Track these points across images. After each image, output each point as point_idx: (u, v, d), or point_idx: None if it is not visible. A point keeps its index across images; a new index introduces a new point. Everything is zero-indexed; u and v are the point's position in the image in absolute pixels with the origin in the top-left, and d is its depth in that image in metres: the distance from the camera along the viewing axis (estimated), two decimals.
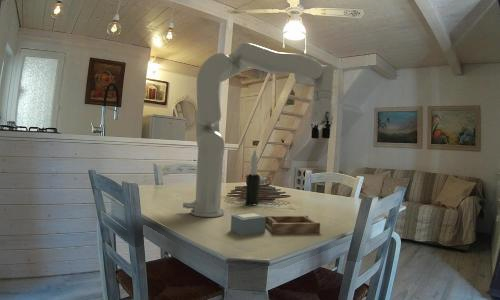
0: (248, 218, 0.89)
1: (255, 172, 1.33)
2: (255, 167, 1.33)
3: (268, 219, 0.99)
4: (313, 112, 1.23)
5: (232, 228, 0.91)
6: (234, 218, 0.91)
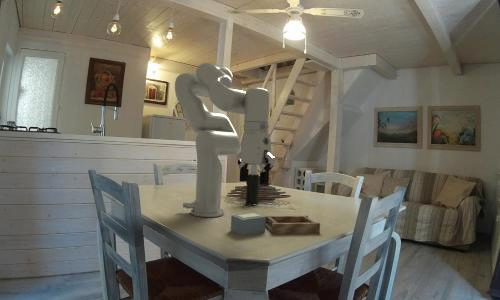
0: (248, 218, 0.89)
1: (255, 172, 1.33)
2: (255, 167, 1.33)
3: (268, 219, 0.99)
4: None
5: (232, 228, 0.91)
6: (234, 218, 0.90)
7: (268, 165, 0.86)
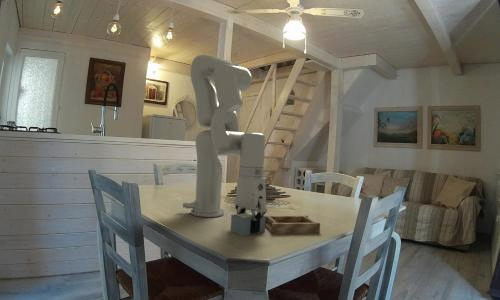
0: (249, 217, 0.89)
1: None
2: None
3: (268, 219, 0.99)
4: None
5: (232, 228, 0.91)
6: (234, 218, 0.90)
7: (259, 214, 0.87)
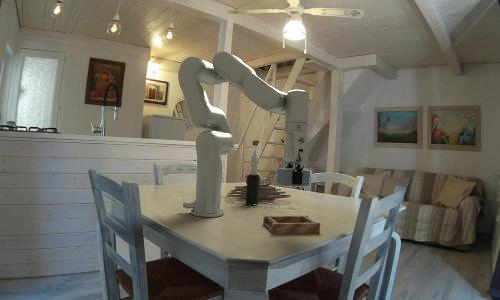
0: (291, 169, 0.94)
1: (255, 172, 1.33)
2: (255, 167, 1.33)
3: (268, 219, 0.99)
4: None
5: (278, 179, 0.98)
6: (279, 170, 0.97)
7: (298, 166, 0.91)
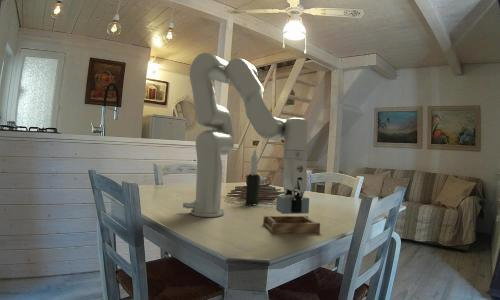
0: (290, 197, 0.95)
1: (255, 172, 1.33)
2: (255, 167, 1.33)
3: (268, 219, 0.99)
4: None
5: (277, 206, 0.98)
6: (278, 197, 0.98)
7: (297, 194, 0.91)
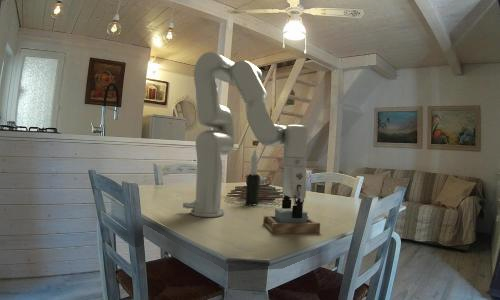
0: (288, 212, 0.95)
1: (255, 172, 1.33)
2: (255, 167, 1.33)
3: (268, 219, 0.99)
4: None
5: (275, 220, 0.98)
6: (276, 211, 0.98)
7: (298, 200, 0.90)
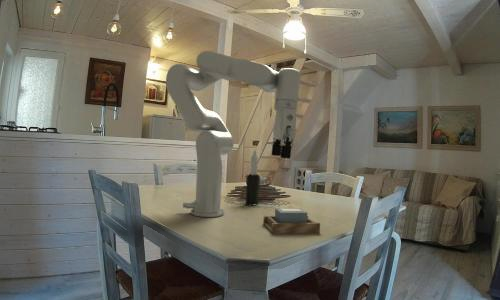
0: (288, 212, 0.95)
1: (255, 172, 1.33)
2: (255, 167, 1.33)
3: (268, 219, 0.99)
4: None
5: (275, 220, 0.98)
6: (276, 211, 0.98)
7: (287, 139, 0.93)
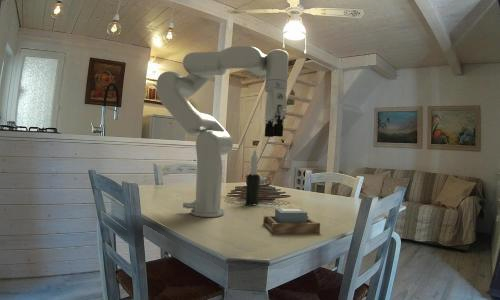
0: (288, 212, 0.95)
1: (255, 172, 1.33)
2: (255, 167, 1.33)
3: (268, 219, 0.99)
4: None
5: (275, 220, 0.98)
6: (276, 211, 0.98)
7: (278, 117, 0.95)
